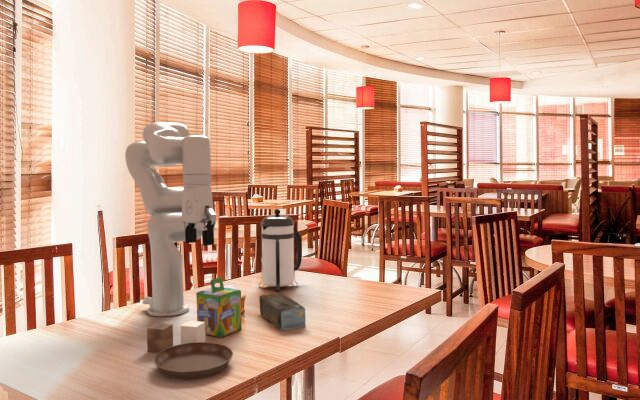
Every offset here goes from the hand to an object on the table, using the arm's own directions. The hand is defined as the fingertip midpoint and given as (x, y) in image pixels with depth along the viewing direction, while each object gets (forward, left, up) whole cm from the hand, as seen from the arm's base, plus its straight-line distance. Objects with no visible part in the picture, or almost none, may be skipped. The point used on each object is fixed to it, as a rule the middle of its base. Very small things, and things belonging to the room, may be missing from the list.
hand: (199, 243), depth 141 cm
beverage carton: (+17, +17, -26) cm, 35 cm away
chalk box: (+4, +3, -25) cm, 26 cm away
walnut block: (-4, -14, -25) cm, 29 cm away
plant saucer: (+10, -22, -26) cm, 35 cm away
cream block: (+3, -10, -25) cm, 27 cm away
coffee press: (+2, +58, -25) cm, 63 cm away
